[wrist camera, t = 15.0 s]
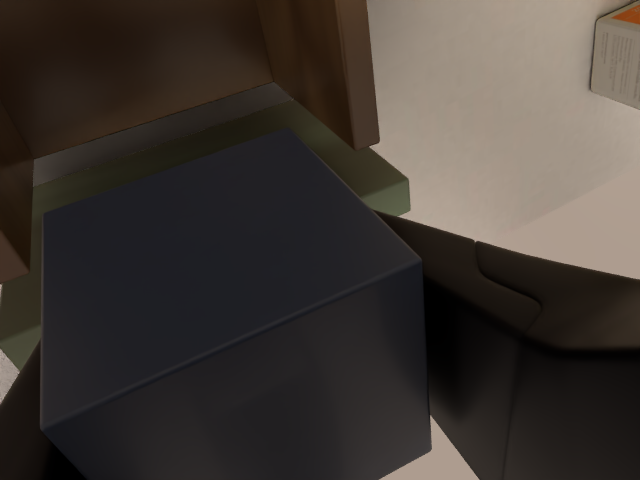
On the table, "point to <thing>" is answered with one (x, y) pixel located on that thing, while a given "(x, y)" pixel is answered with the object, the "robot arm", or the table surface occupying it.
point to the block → (232, 325)
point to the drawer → (169, 105)
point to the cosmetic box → (618, 56)
